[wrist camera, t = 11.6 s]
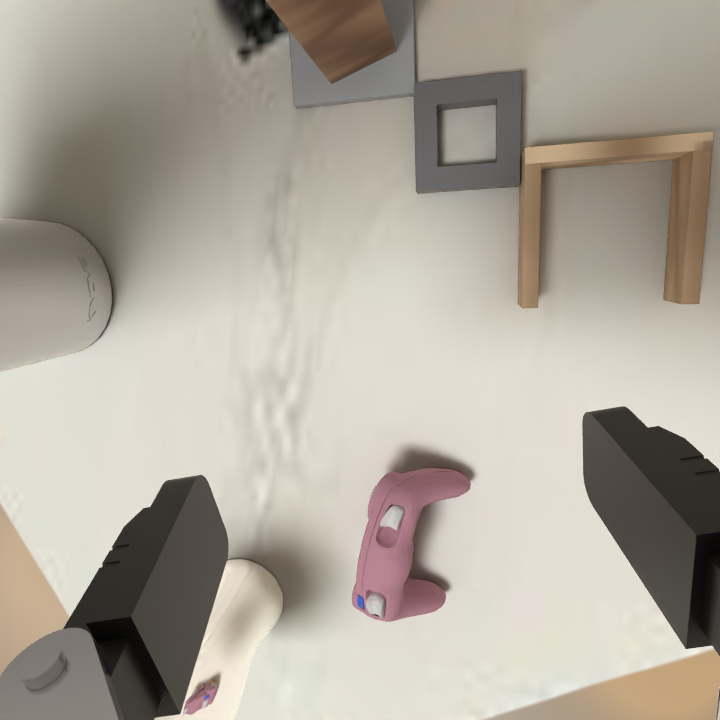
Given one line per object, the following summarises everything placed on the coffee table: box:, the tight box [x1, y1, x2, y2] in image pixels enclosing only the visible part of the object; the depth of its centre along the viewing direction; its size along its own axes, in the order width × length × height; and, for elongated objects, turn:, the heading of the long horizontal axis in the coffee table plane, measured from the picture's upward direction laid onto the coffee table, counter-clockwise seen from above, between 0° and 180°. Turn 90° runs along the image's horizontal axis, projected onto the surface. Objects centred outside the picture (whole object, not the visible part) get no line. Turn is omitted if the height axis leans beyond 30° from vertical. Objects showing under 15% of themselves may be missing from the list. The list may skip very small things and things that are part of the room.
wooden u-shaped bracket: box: [518, 131, 714, 308], centre depth 27 cm, size 9×8×2 cm
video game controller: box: [352, 468, 471, 621], centre depth 32 cm, size 10×5×7 cm, turn 171°
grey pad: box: [289, 0, 415, 109], centre depth 29 cm, size 7×7×1 cm
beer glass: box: [154, 559, 283, 720], centre depth 31 cm, size 7×7×15 cm
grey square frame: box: [414, 71, 522, 194], centre depth 28 cm, size 6×6×1 cm
